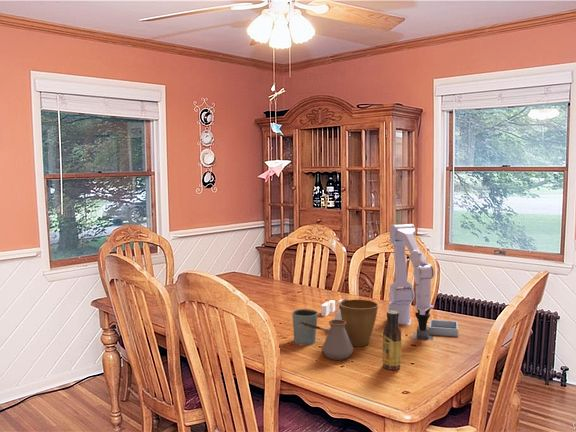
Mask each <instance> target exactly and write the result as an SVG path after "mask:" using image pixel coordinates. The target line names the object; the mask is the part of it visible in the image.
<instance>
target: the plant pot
mask: <svg viewBox="0 0 576 432" xmlns="http://www.w3.org/2000/svg"><path fill="white" fill-rule="evenodd" d="M378 308H379V304H378V303H377V302H375V301H373V300H372V301H371V300H368V299H367V300H366V299H347V300H346V301H342V302H340V311H341V317H342V320H344V321H346V324H345V330H346V332H347V335H348V337H349V339H350V342H351V344H352V346H353V347H365V346H367V345H368V344H369V342H370V338H371V336H372V333H373V331H374V327H375V324H376V319H377V315H378V314H377V313H378Z"/></svg>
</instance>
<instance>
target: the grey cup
mask: <svg viewBox="0 0 576 432" xmlns="http://www.w3.org/2000/svg"><path fill="white" fill-rule="evenodd" d="M291 314H292V316H291V317H292V327H293V342H294V343H295V344H296V345H300V346H309V345H313V344H315V343H316V337H317V336H316V335H317V329H315V328H311V327H309V326H305V325H304V324H302V326H301V323H300V322H304V323H306V322H307V324H313V325H316V326H318V315H319V313H318V311H317V310H314V309H310V308H301V309H300V308H299V309H296V310H293V311H292V313H291ZM298 324H299V326H298Z"/></svg>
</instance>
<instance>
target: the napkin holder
mask: <svg viewBox="0 0 576 432" xmlns="http://www.w3.org/2000/svg"><path fill="white" fill-rule="evenodd" d="M335 312H336V300H334V299H330V300H329V301H325V302H324V303H323V304H321V316H322V317H327V316H328V315H329V314H332V313H335Z"/></svg>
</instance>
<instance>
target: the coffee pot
mask: <svg viewBox="0 0 576 432" xmlns="http://www.w3.org/2000/svg"><path fill="white" fill-rule="evenodd" d="M300 323H301V326H302V324H304V325H305V326H309V327H311V328H315V329H316V330H320V331H324V332H327V335H326V338H325V340H324V342H323V344H322V347H321V350H322V352H323V353H324V354H325V356H326V357H327V358H328V359H331V360H336V361H341V360H347V359H348V358H349V357H350V356H351V355H352V354H353V352H354V346H353V345H352V344H351V342H350V339H349V337H348V335H347V332H346V330H345V324H346V321H344V320H335V319H331V320H329V321H328V324H329V326H330V329H329V328H324V327H321V326H318V325H313V324H307V322H306V323H304V322H300ZM298 326H299V324H298Z"/></svg>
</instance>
